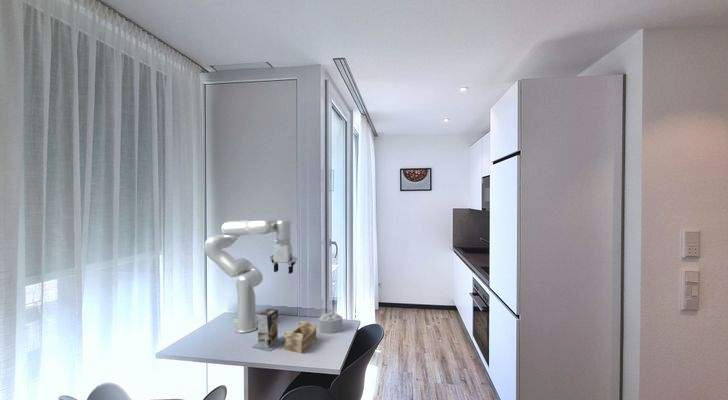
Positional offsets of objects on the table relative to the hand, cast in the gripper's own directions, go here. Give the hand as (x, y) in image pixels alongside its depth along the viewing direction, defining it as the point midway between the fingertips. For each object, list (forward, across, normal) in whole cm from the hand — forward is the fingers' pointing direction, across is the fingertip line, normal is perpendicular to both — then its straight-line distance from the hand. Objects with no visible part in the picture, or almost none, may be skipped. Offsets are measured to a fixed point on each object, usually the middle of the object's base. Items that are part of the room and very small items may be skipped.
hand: (283, 272), depth 166 cm
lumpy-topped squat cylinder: (+34, +24, +12) cm, 43 cm away
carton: (+33, +18, -10) cm, 39 cm away
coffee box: (+33, +2, -15) cm, 36 cm away
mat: (+33, +2, -15) cm, 37 cm away
